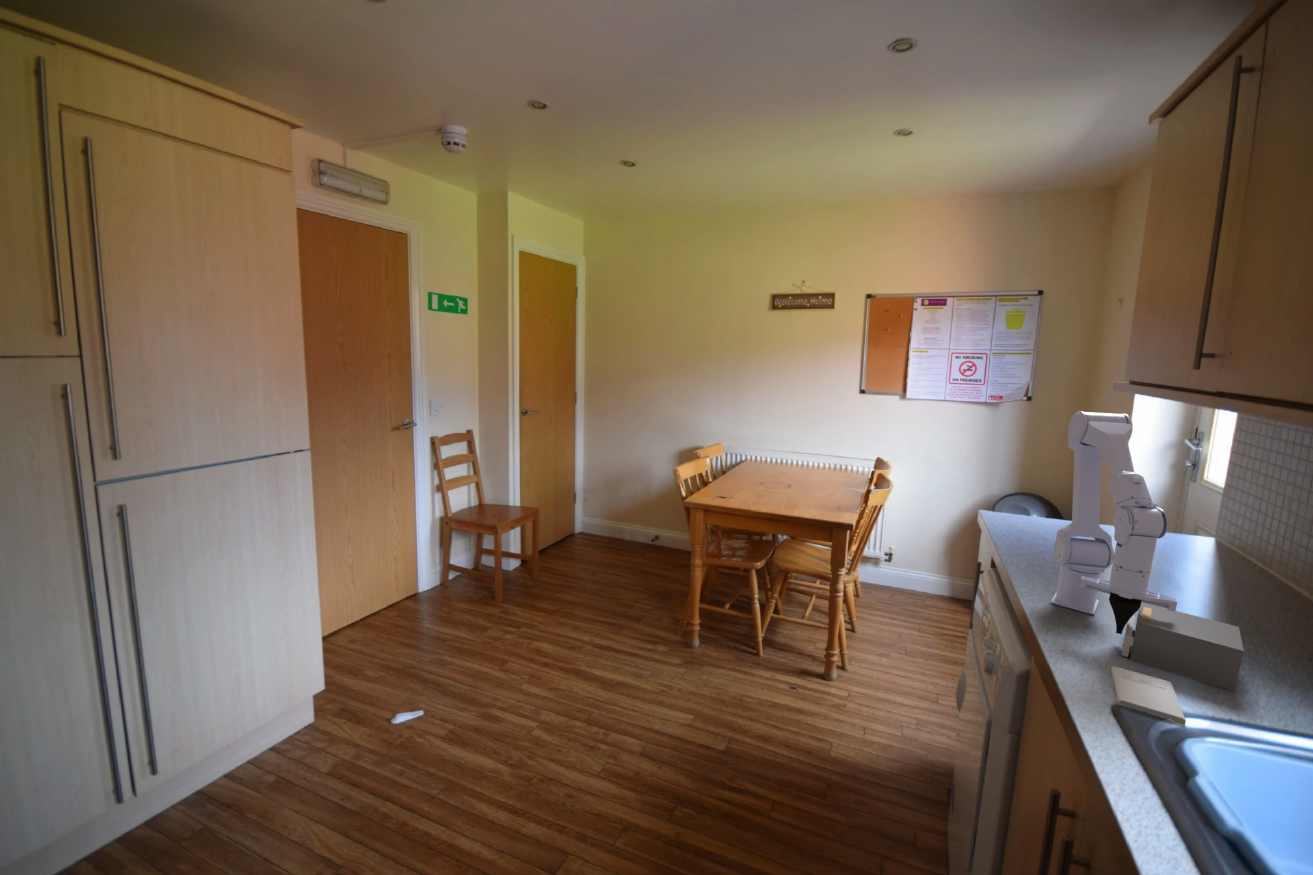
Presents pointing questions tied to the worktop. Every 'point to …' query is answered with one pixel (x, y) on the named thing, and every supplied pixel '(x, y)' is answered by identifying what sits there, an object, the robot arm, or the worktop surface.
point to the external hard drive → (1147, 694)
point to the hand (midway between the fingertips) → (1119, 631)
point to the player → (1188, 645)
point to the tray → (1128, 637)
